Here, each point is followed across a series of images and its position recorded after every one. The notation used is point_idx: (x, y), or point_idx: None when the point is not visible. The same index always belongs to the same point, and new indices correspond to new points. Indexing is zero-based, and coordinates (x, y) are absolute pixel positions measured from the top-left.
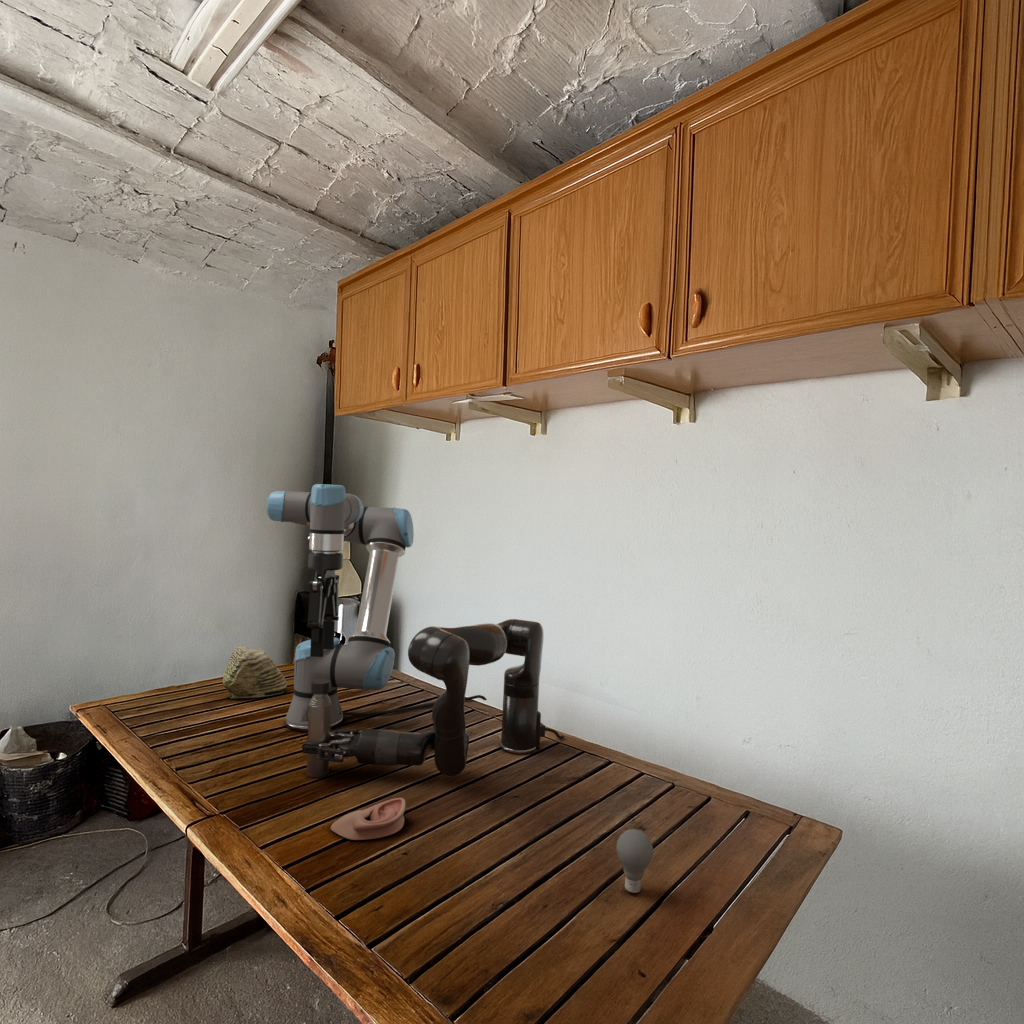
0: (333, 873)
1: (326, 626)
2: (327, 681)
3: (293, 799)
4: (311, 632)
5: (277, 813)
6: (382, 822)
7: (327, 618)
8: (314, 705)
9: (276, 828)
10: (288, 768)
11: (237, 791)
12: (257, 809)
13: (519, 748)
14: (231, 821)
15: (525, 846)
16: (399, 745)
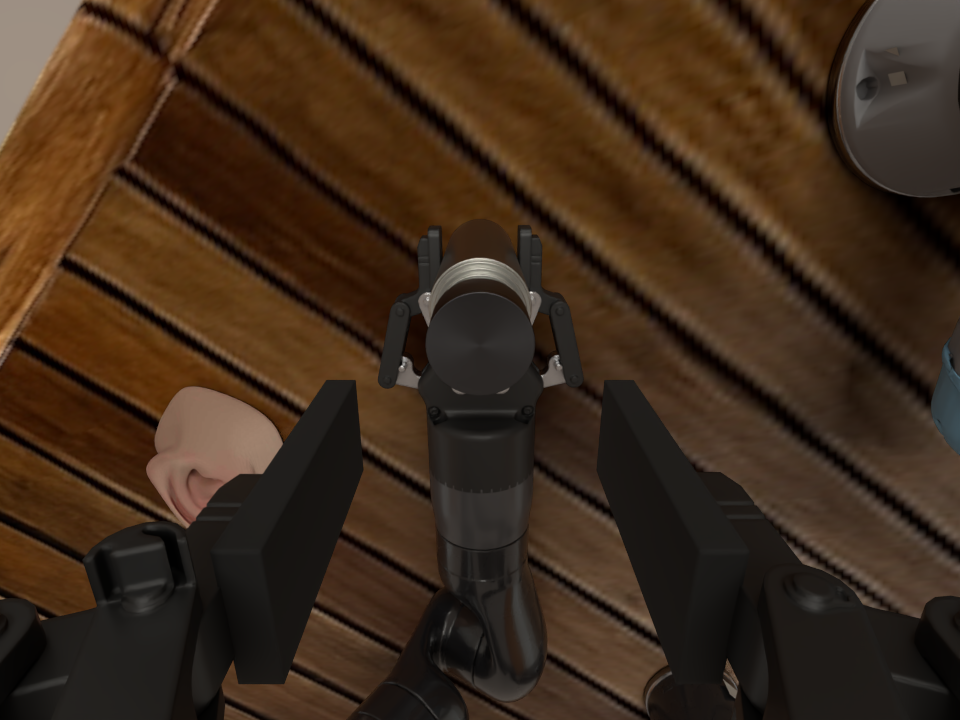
0: (39, 439)
1: (665, 553)
2: (479, 381)
3: (305, 245)
4: (241, 509)
5: (222, 232)
6: (176, 512)
7: (755, 632)
8: (430, 300)
9: (153, 261)
10: (499, 147)
11: (312, 48)
12: (226, 167)
13: (648, 707)
14: (145, 124)
15: (241, 708)
16: (441, 538)
